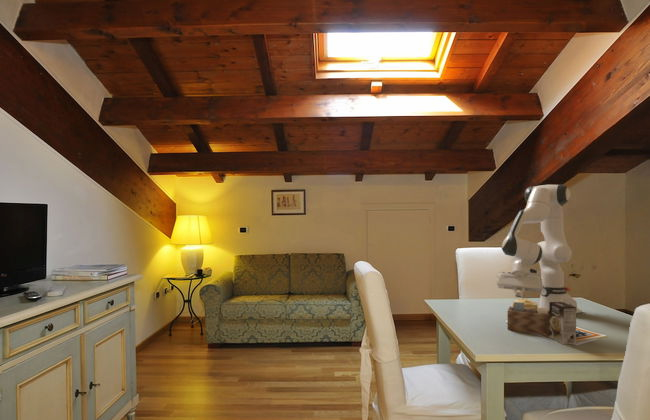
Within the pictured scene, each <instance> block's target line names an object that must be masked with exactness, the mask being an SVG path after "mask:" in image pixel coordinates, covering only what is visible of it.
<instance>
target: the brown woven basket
mask: <svg viewBox="0 0 650 420" xmlns="http://www.w3.org/2000/svg"><path fill="white" fill-rule="evenodd" d="M507 330H508V331H515V332H523V333H530V334H535V335H536V334H537V335H543V334H547V335H546V336H550V314H549V311H548V314H541V313H537V309H530V308H524V312H523V311H515V310H513V307H512V305H511V306H509V307H508V310H507Z"/></svg>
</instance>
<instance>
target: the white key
mask: <svg viewBox="0 0 650 420" xmlns="http://www.w3.org/2000/svg"><path fill="white" fill-rule="evenodd" d="M538 307H539V306H538ZM538 307H537V313H541V314H548V309H547V308H538Z"/></svg>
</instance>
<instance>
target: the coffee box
mask: <svg viewBox="0 0 650 420" xmlns="http://www.w3.org/2000/svg"><path fill="white" fill-rule="evenodd" d="M549 314H550V335H549V338H550V339H551V340H554V342H555V341H556V342H557V343H559V344H561V345H576V344H577V313H576V307H575V306H572V305H569V304H566V303H563V302H549Z"/></svg>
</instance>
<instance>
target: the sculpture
mask: <svg viewBox="0 0 650 420" xmlns="http://www.w3.org/2000/svg"><path fill="white" fill-rule="evenodd" d="M514 302H519V303H524V308H530V309H537V307H539V305H538V303H537V302H535V301H533V300H531V299H529V298H520V299H519V298H518V299H516V300H515V301H513V303H512V304H511V306H512V307H513V304H514Z"/></svg>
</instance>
